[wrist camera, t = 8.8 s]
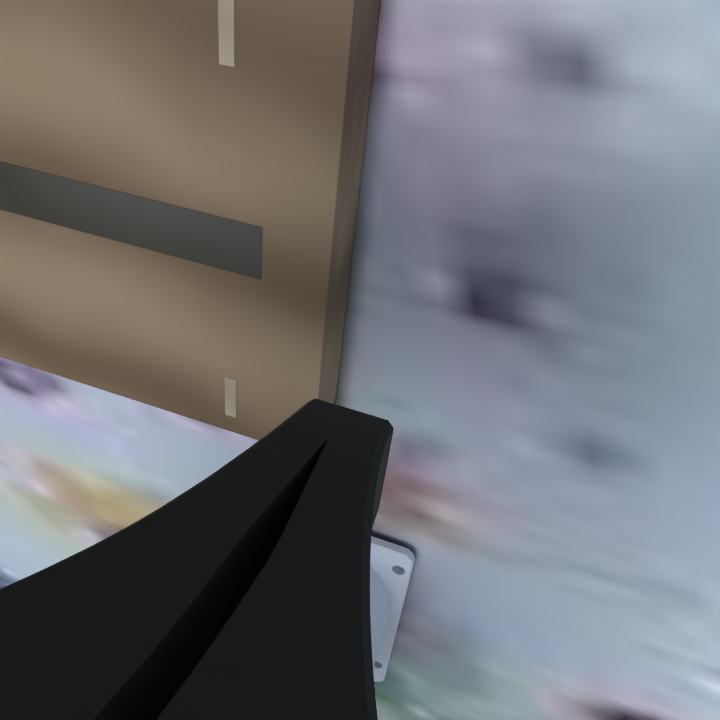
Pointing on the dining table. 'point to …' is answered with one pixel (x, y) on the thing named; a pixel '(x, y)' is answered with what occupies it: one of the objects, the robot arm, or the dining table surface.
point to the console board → (183, 197)
